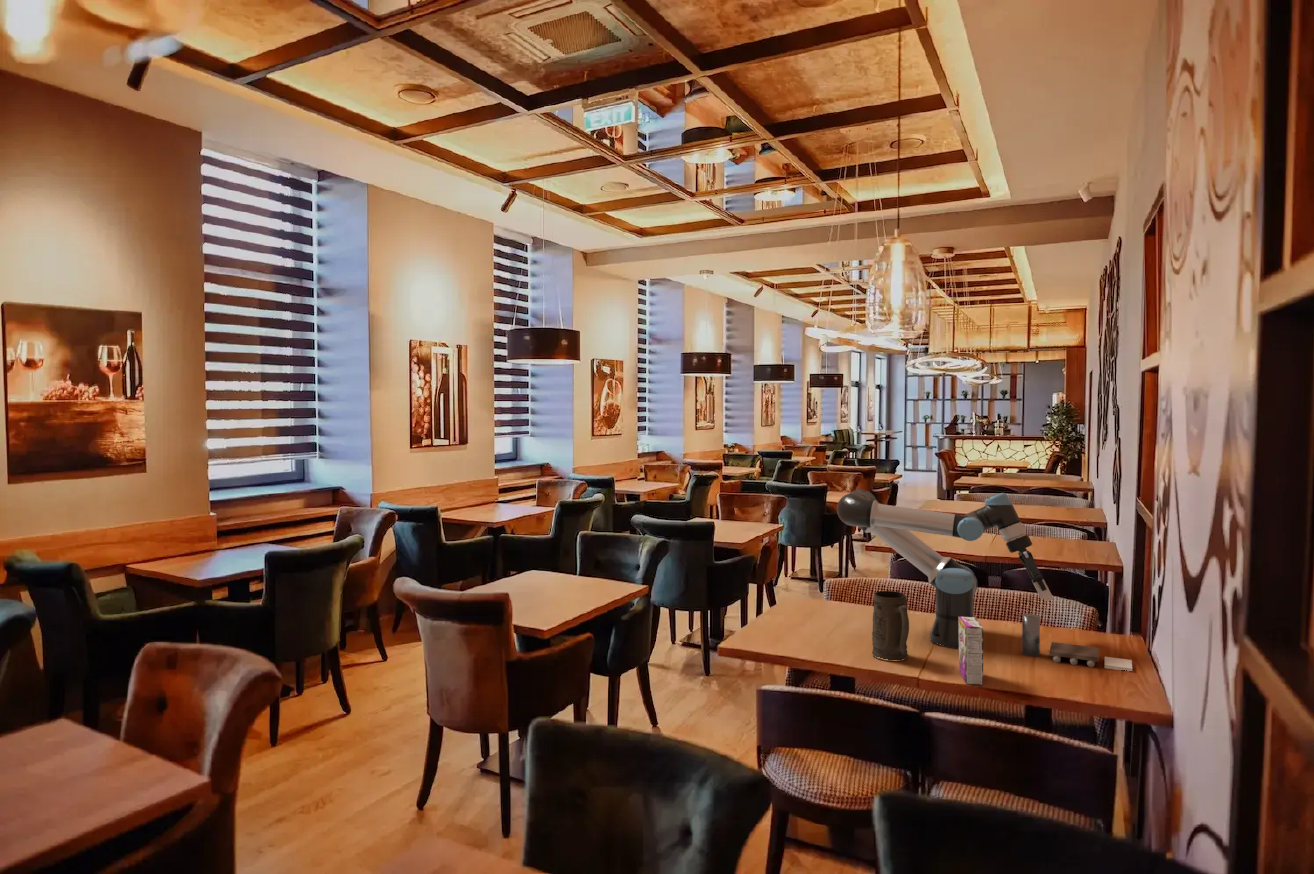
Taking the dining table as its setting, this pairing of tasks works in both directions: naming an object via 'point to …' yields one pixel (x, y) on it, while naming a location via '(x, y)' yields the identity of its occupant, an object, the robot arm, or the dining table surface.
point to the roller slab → (1074, 653)
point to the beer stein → (890, 625)
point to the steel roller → (1031, 635)
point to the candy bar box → (971, 650)
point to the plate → (1118, 664)
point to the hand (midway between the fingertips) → (1047, 598)
